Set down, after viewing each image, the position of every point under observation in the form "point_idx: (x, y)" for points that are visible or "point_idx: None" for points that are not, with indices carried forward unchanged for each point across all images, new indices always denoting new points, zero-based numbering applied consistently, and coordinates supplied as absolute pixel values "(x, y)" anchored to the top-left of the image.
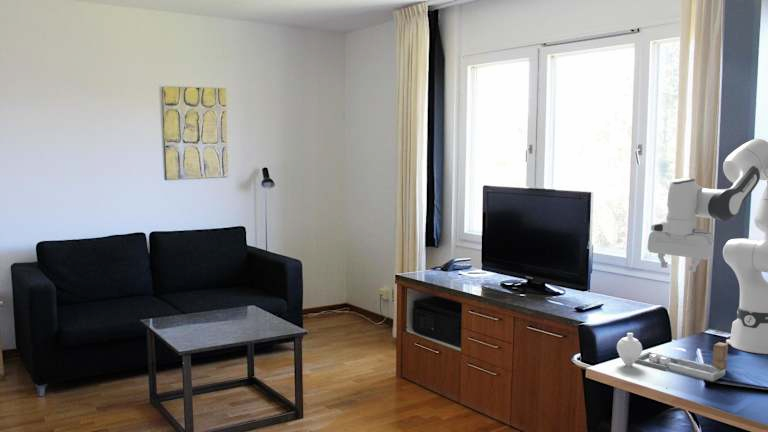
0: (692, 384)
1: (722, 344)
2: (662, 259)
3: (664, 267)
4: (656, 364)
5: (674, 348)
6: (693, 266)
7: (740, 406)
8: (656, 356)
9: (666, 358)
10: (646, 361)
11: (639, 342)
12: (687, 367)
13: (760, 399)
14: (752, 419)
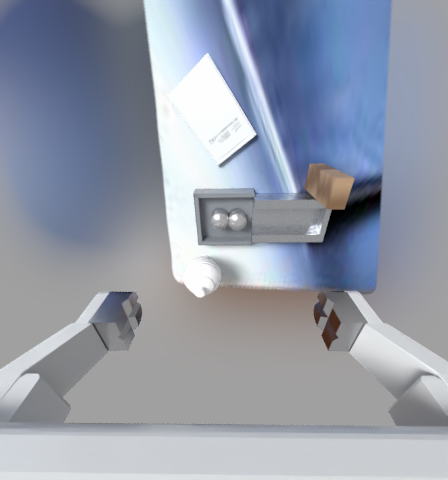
0: (291, 244)
1: (343, 192)
2: (77, 364)
3: (137, 312)
4: (236, 244)
5: (192, 78)
6: (363, 353)
7: (354, 270)
8: (224, 225)
9: (240, 222)
10: (219, 242)
11: (215, 279)
12: (282, 238)
13: (378, 233)
14: (367, 291)
